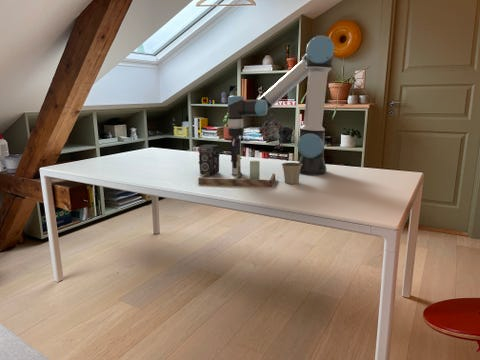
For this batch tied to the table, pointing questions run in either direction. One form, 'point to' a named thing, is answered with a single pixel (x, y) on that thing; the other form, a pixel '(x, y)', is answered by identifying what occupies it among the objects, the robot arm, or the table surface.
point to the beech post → (238, 165)
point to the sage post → (254, 169)
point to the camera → (209, 159)
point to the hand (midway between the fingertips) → (236, 172)
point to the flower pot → (291, 172)
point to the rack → (235, 181)
